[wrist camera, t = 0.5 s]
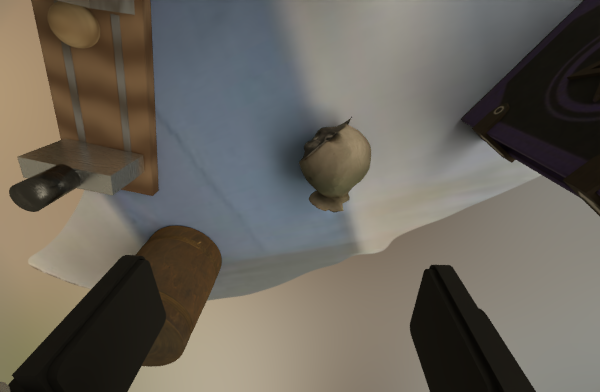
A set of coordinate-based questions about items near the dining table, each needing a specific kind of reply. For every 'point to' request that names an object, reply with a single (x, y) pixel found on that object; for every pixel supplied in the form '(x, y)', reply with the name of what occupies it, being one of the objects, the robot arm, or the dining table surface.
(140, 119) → the base
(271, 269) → the dining table surface
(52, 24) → the walnut
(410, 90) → the dining table surface
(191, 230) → the wooden container
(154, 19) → the dining table surface
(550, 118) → the book
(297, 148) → the dining table surface
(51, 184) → the sliding jaw
